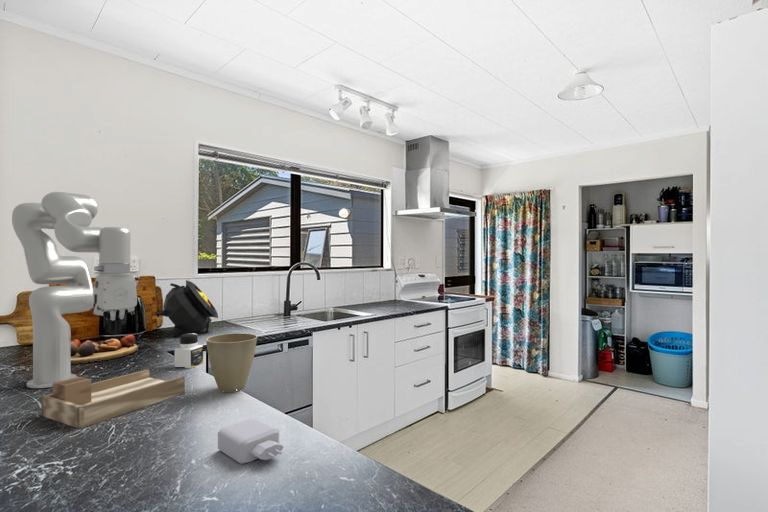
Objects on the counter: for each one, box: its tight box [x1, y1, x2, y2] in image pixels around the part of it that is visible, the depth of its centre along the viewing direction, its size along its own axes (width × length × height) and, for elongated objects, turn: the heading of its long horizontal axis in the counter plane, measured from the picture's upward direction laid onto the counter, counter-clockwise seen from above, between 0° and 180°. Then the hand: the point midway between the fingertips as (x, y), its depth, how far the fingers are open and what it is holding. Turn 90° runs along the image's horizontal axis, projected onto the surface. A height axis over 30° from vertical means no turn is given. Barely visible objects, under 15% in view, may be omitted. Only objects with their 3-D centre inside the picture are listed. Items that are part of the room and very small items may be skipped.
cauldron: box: [154, 279, 219, 338], centre depth 217 cm, size 28×28×24 cm
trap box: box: [41, 369, 186, 429], centre depth 112 cm, size 18×28×5 cm, turn 153°
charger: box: [217, 417, 284, 465], centre depth 83 cm, size 5×9×15 cm
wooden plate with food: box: [71, 334, 138, 365], centre depth 170 cm, size 32×32×8 cm
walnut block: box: [52, 376, 92, 405], centre depth 105 cm, size 6×6×6 cm
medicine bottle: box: [174, 332, 204, 369], centre depth 152 cm, size 7×7×12 cm
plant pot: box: [205, 332, 258, 393], centre depth 125 cm, size 15×15×16 cm
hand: (114, 333), depth 116 cm, fingers closed
